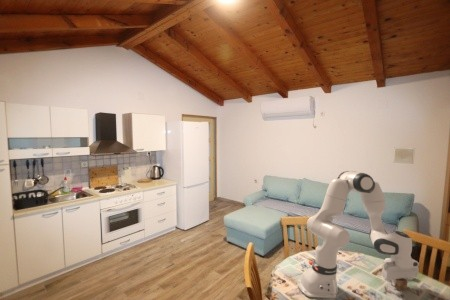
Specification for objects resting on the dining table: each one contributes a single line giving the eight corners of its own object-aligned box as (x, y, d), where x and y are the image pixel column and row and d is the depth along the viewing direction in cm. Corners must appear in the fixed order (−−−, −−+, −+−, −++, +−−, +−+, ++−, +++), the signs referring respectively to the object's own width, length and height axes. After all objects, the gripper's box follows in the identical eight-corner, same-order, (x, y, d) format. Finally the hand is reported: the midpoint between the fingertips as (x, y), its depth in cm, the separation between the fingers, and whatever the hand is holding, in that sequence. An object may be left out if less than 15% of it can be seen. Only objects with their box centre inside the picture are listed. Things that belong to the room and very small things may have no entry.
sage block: (411, 281, 130) (411, 275, 130) (403, 277, 134) (403, 271, 134) (414, 279, 132) (414, 273, 132) (406, 275, 136) (406, 269, 136)
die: (403, 278, 133) (404, 262, 132) (386, 276, 135) (387, 260, 134) (395, 270, 141) (396, 255, 141) (379, 268, 143) (380, 253, 142)
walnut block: (399, 291, 122) (399, 281, 122) (391, 285, 127) (391, 275, 127) (407, 290, 123) (407, 280, 123) (398, 284, 128) (399, 275, 128)
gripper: (389, 265, 120) (387, 290, 121) (421, 262, 123) (420, 286, 124) (379, 259, 126) (378, 282, 127) (410, 256, 129) (409, 279, 130)
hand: (399, 284), depth 125 cm, fingers closed on walnut block, 5 cm apart
